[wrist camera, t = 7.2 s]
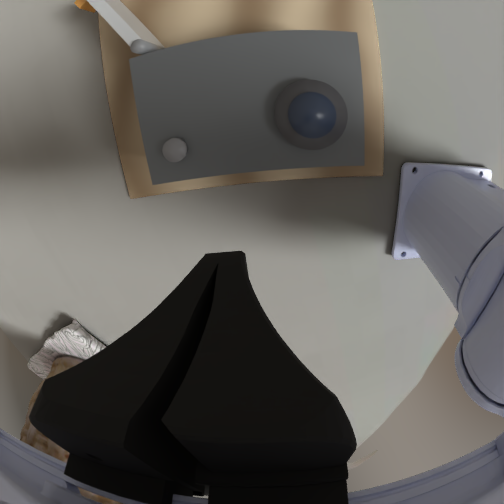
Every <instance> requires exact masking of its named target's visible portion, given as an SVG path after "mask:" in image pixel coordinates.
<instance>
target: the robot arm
mask: <svg viewBox="0 0 504 504" xmlns="http://www.w3.org/2000/svg"><path fill="white" fill-rule="evenodd" d="M414 167H415V168H416V170H415V171H414V172H413V173H412V169H413V168H414ZM480 172H481V173H480ZM479 173H480V175H479ZM491 177H492V171H491V170H490V169H489V168H485V167H475V166H464V165H450V164H434V163H410V162H407V163H404V164H403V166H402V168H401V181H400V192H399V203H398V211H397V220H396V227H395V234H394V241H393V247H392V257H393V258H394V259H395V260H399V259H409V258H419V257H421V259H422V260H423V261H424V263H425V264H426V265H427V267H428V268H429V270H430V271H431V272H432V274H433V275H434V277H435V278H436V280H437V281H438V282H439V284H440V285H441V287H442V288H443V290H444V291H445V293H446V294H447V296H448V297H449V299H450V300H451V302H452V303H453V305H454V307H455V308H456V310H457V311H458V313H459V315H458V318H457V320H456V322H455V324H454V325H455V327H456V329H457V331H458V333H459V334H460V336H461V338H462V339H461V340H460V341H459V343H458V345H457V348H456V351H455V366H456V370H457V374H458V377H459V379H460V382H461V384H462V386H463V388H464V389H465V391H466V393H467V394H468V395H469V396H470V398H471V399H472V400H473V401H474V402H475V403H477V404H478V405H479V406H480V407H482V408H484V409H485V410H487V411H490V412H492V413H496V414H498V415H500V416H502V417H504V190H503V189H502V188H500V187H499V186H497V185H496V184H494V183H492V182H491ZM402 252H404V253H403V254H401V253H402ZM29 420H30V422H31V424H32V425H33V426H34V427H35V428H36V429H37V430H38V431H39V432H41V433H42V434H43V435H45V436H46V437H47V438H49V439H50V440H51V441H53V442H54V443H56V444H57V445H58V446H60V447H61V448H63V449H64V450H66V451H67V452H69V453H70V454H69V457H68V460H67V463H65V462H63V461H61V460H58V459H56V458H54V457H52V456H50V455H48V454H46V453H43V452H41V451H39V450H37V449H36V448H34V447H32V446H30V445H28V444H26V443H24V442H22V441H21V440H19V439H17V438H15V437H13V436H12V435H10V434H8V433H7V432H5V431H4V430H2V429H1V428H0V504H102V503H100V502H97V501H94V500H92V499H89V498H86V497H84V496H82V495H81V493H80V491H79V489H78V487H79V488H82V489H84V490H86V491H89V492H92V493H94V494H97V495H100V496H102V497H105V498H108V499H111V500H114V501H117V502H120V503H123V504H504V432H503V433H501V434H500V435H499V436H498V437H497V438H496V439H495V440H493V441H492V442H490V443H488V444H486V445H484V446H483V447H481V448H479V449H477V450H475V451H473V452H471V453H469V454H467V455H464V456H462V457H460V458H458V459H456V460H454V461H451V462H449V463H447V464H444V465H442V466H439V467H437V468H434V469H432V470H429V471H426V472H424V473H421V474H418V475H415V476H412V477H409V478H406V479H403V480H399V481H396V482H393V483H389V484H385V485H382V486H378V487H373V488H369V489H365V490H360V491H355V492H350V493H348V492H347V483H346V479H348V469H347V461H348V460H349V458H350V457H351V456H352V454H353V453H354V451H355V450H356V446H357V443H356V438H355V435H354V432H353V429H352V426H351V424H350V421H349V419H348V417H347V415H346V413H345V411H344V409H343V407H342V406H341V404H340V402H339V400H338V398H337V397H336V395H335V394H333V393H332V392H331V391H330V390H329V389H328V388H327V387H326V386H324V385H323V384H322V383H321V382H320V381H319V380H318V379H317V378H316V377H315V376H314V375H313V374H312V373H311V372H310V371H309V370H308V369H307V368H306V367H305V365H304V364H303V363H302V362H301V361H300V360H299V359H298V358H297V357H296V355H295V354H294V353H293V352H292V350H291V349H290V348H289V347H288V345H287V344H286V343H285V342H284V341H283V339H282V338H281V337H280V335H279V334H278V332H277V331H276V329H275V328H274V327H273V325H272V324H271V322H270V320H269V319H268V317H267V316H266V314H265V312H264V310H263V309H262V307H261V305H260V303H259V301H258V299H257V297H256V295H255V293H254V290H253V288H252V285H251V283H250V280H249V276H248V270H247V263H246V256H245V253H244V252H242V251H233V252H221V253H208V254H205V256H204V257H203V258H202V259H201V260H200V261H199V262H198V263H197V265H196V266H195V267H194V268H193V269H192V270H191V272H190V273H189V274H188V275H187V276H186V277H185V278H184V279H183V281H182V282H181V283H180V284H179V285H178V286H177V287H176V288H175V289H174V290H173V291H172V292H171V293H170V294H169V295H168V296H167V297H166V298H165V299H164V300H163V302H162V303H161V304H160V305H159V306H158V307H157V308H155V309H154V310H153V311H152V312H151V313H150V314H149V315H148V316H147V317H145V318H144V319H143V320H142V321H141V322H140V323H138V324H137V325H136V326H135V327H133V328H132V329H131V330H130V331H128V332H127V333H125V334H124V335H123V336H121V337H120V338H118V339H117V340H116V341H114V342H113V343H112V344H110V345H109V346H107V347H106V348H104V349H103V350H101V351H99V352H98V353H96V354H95V355H93V356H91V357H90V358H88V359H86V360H84V361H83V362H81V363H79V364H77V365H75V366H73V367H71V368H69V369H67V370H65V371H63V372H61V373H59V374H57V375H54V376H52V377H50V378H48V379H45V381H44V383H43V385H42V387H41V389H40V392H39V394H38V396H37V398H36V401H35V403H34V405H33V407H32V410H31V412H30V415H29ZM76 486H77V487H76ZM193 495H195V496H204V495H206V496H207V495H208V499H206V498H196V497H193Z"/></svg>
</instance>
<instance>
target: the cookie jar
mask: <svg viewBox="0 0 504 504" xmlns="http://www.w3.org/2000/svg"><path fill="white" fill-rule="evenodd" d="M104 348H106V346H105V345H103V344H102V343H101V342H99V341H98V340H97V339H96V338H94V337H93V336H92V335H90V334H89V333H88V332H87V331H85V329H84V328H83V327H82V326H81V325H80V324H79V323H78V322H77V320H76V319H73V321H72V324H70V325H68V326H66V327H63V328H62V329H61V330H59V331H56V332H54V335H53V336H51V337H48V339H47V340H46V341H45V343H44V345H43V347H42V348H41V350H40V351H39V352H38V353H37V354H35V355H33V356H32V357H31V358H30V359H29V362H28V365H27V366H28V368H29V369H30V370H31V371H32V372H33V373H35V374H36V375H37V376H39V377H40V378H42V379H43V381H42V382H41V383H40V385H39V387H38V389H37V391H36V392H35V393H34V394H33V396H32V398H31V400H30V403H29V408H28V412H27V415H26V423H25V425H24V427H23V429H22V431H21V439H20V440H21V441H22V442H24V443H26V444H28V445H30V446H32V447H34V448H36V449H37V450H39V451H41V452H43V453H46V454H48V455H50V456H52V457H54V458H56V459H58V460H61V461H63V462H65V463H67V460H68V457H69V454H70V453H69V452H67V451H66V450H64V449H63V448H61V447H60V446H58V445H57V444H56V443H54V442H53V441H51V440H50V439H49V438H47V437H46V436H45V435H43V434H42V433H41V432H39V431H38V430H37V429H36V428H35V427H34V426H33V425H32V424H31V422H30V420H29V415H30V412H31V410H32V407H33V405H34V403H35V401H36V398H37V396H38V394H39V392H40V389H41V387H42V385H43V383H44V381H45V379H48V378H50V377H52V376H54V375H57V374H59V373H61V372H63V371H65V370H67V369H69V368H71V367H73V366H75V365H77V364H79V363H81V362H83V361H84V360H86V359H88V358H90V357H91V356H93V355H95V354H96V353H98V352H99V351H101V350H103V349H104ZM76 487H77V486H76ZM78 489H79V491H80V493H81V495H82V496H84V497H86V498H89V499H92V500H94V501H97V502H100V503H102V504H123V503H120V502H117V501H114V500H111V499H108V498H105V497H102V496H100V495H97V494H94V493H92V492H89V491H86V490H84V489H82V488H79V487H78Z"/></svg>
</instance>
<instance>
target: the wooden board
mask: <svg viewBox="0 0 504 504" xmlns="http://www.w3.org/2000/svg"><path fill="white" fill-rule="evenodd" d="M120 1H121V2H122V3H123V4H124V5H125V6H126V7H127V8H128V9H129V10H130V11H131V12H132V13H133V14H134V15H135V16H136V17H137V18H138V19H139V20H140V21H141V22H142V23H143V24H144V26H145V27H146V28H147V29H148V30H149V31H150V32H151V33H152V34H153V35H154V36H155V37H156V38H157V39H158V40H159V42H160V43H161V44H162V45H163V46H164V47H165V48H168V47H172V46H176V45H180V44H185V43H189V42H194V41H199V40H204V39H210V38H215V37H222V36H228V35H236V34H244V33H253V32H265V31H282V30H330V31H347V32H357V35H358V43H359V51H360V61H361V71H362V84H363V101H364V130H365V165H364V166H334V167H312V168H295V169H281V170H268V171H257V172H247V173H237V174H228V175H220V176H212V177H204V178H196V179H189V180H182V181H176V182H169V183H163V184H157V185H152V180H151V176H150V172H149V168H148V163H147V159H146V154H145V149H144V145H143V140H142V135H141V130H140V125H139V119H138V114H137V108H136V103H135V97H134V90H133V84H132V77H131V70H130V63H129V59H131V58H134V57H137V56H140V55H141V54H136V53H133V52H132V51H131V49H130V46H129V45H128V44H127V43H126V42H125V41H124V40H123V39H122V37H121V36H120V35H119V34H118V33H117V32H116V31H115V30H114V29H113V28H112V27H111V25H110V24H109V23H108V22H107V21H106V20H105V19H104V18H103V17H102V16H101V15H100V14H99V13H98V18H99V32H100V43H101V53H102V61H103V69H104V76H105V83H106V90H107V96H108V102H109V107H110V113H111V118H112V123H113V128H114V133H115V138H116V142H117V147H118V151H119V156H120V160H121V164H122V168H123V172H124V176H125V180H126V184H127V187H128V191H129V195H130V198H131V199H134V198H140V197H146V196H152V195H159V194H165V193H172V192H179V191H186V190H193V189H201V188H209V187H218V186H226V185H236V184H245V183H256V182H267V181H279V180H293V179H308V178H327V177H353V176H383V159H384V106H383V85H382V71H381V59H380V50H379V41H378V34H377V26H376V20H375V14H374V8H373V3H372V0H120Z"/></svg>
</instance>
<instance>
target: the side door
mask: <svg viewBox="0 0 504 504" xmlns="http://www.w3.org/2000/svg"><path fill="white" fill-rule="evenodd" d="M75 4H76V5H77V6H78V7H79V8H80V9H83V10H87V11H90V12H93V13H94V12H95V11H97V12H98V13H99V14H100V15H101V16H102V17H103V18H104V19H105V20H106V21H107V22H108V23H109V24H110V25H111V27H112V28H113V29H114V30H115V31H116V32H117V33H118V34H119V35H120V36H121V37H122V39H123V40H124V41H125V42H126V43H127V44H128V45H129V46H130V49H131V51H132V52H133V53H136V54H141V55H143V54H147V53H150V52H153V51H157V50H161V49H164V48H165V47H164V46H163V45H162V44H161V43H160V42H159V40H158V39H157V38H156V37H155V36H154V35H153V34H152V33H151V32H150V31H149V30H148V29H147V28H146V27H145V26H144V24H143V23H142V22H141V21H140V20H139V19H138V18H137V17H136V16H135V15H134V14H133V13H132V12H131V11H130V10H129V9H128V8H127V7H126V6H125V5H124V4H123V3H122V2H121V1H120V0H76V1H75Z"/></svg>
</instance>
